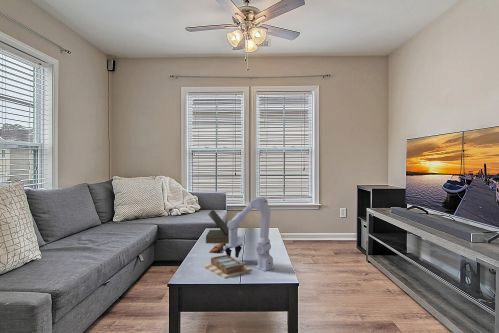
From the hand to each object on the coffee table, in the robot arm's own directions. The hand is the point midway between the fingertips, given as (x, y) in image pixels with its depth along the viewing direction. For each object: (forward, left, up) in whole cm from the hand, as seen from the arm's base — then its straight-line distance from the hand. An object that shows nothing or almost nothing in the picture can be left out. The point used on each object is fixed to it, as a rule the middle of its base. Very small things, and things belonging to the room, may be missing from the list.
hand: (232, 258), depth 195 cm
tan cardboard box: (-8, +11, -1) cm, 13 cm away
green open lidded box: (+52, -24, -3) cm, 58 cm away
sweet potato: (+29, -7, -3) cm, 30 cm away
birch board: (-8, +11, -2) cm, 14 cm away
